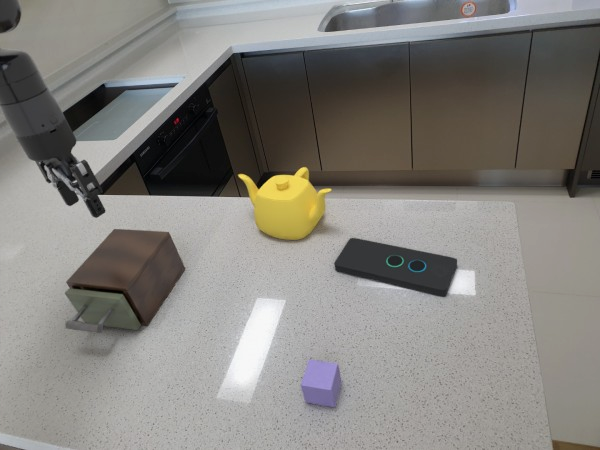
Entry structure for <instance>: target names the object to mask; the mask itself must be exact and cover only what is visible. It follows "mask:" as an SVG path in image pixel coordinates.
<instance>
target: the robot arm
mask: <svg viewBox="0 0 600 450" xmlns="http://www.w3.org/2000/svg"><path fill="white" fill-rule="evenodd" d="M22 11H23V10H22V4H21V2H20V0H0V35H3V34H7V33H10V32H12V31H14V30H15V29H16V28H17V27H18V26H19V24H20V22H21V20H22V13H23V12H22ZM0 111H1V114H2V115H3V118H4V120H5V122H6V123H7V125H8V127H9V128H10V129H11V132H12V133H13V135H14V136H15V139H16V140H17V141H18V144H19V145H20V146H21V148H22V150H23V152H24V153H25V155H26V157H27V158H28V159H29V160H30V161H34V162H35V164H36V165H37V167H38V169H39V171H40V173H41V174H42V176H43V178H44V179H45V182H46V183H47V184H51V185H52V187H53V188H54V189H56V190H57V192H58V194H59V195H60V197H61V199H62V200H63V202H64V204H65V205H66V206H68V207H72V206H73V205H75V204H77V203H78V202H79V201H80V199H79V197H80V198H81V199H82V200H83V202H84V204H85V206H86V208H87V210H88V211H89V213H90V215H91V216H92V217H93V218H94V219H97V218H99V217H101V216H102V215H104V214H105V213H106V209H105V206H104V204H103V203H102V201H101V198H100V197H99V195H101V194H102V193H103V192H104V190H103V187H102V186H101V184H100V183H99V181H98V178H97V177H96V175H95V174H94V172H93V169H92V167H91V166H90V164H89V162H88V161H87V160H86V159H81V161H79V159H78V158H77V157H76V156H75V155H74V154H73V153H72V151H73V148H74V147H75V146H76V145H77V138H76V136H75V133H74V132H73V130H72V128H71V126H70V125H69V122H68V120H67V119H66V116H65V115H64V113H63V110H62V108H61V107H60V105H59V103H58V100H57V99H56V98H55V96H54V94H52V92H51V91H50V88H48V85H47V84H46V82H45V79H44V78H43V76H42V74H41V71H40V70H39V68H38V66H37V64H36V62H35V60H34V59H33V57H32V56H31V55H30V54H29V52H27V51H26V50H22V49H14V48H13V49H12V48H5V47H2V46H0ZM75 181H76V182H75Z"/></svg>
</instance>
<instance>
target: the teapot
mask: <svg viewBox="0 0 600 450" xmlns="http://www.w3.org/2000/svg"><path fill="white" fill-rule="evenodd" d="M237 176H238V178H239V179H240V180H241V181H243V183H244V184H245V186H246V188H247V192H248V196H249V200H250V202H251V204H252V206H253V216H254V222H255V225H256V227H257V228H258V229H259V230H260V231H261V232H262V233H264V234H266V235H267V236H270V237H273V238H276V239H280V240H288V241H296V240H297V241H298V240H302V239H305V238H306V237H307V236H308V235H309V234H311V232H312V231H313V230H314V229H315V228H316V227H317V225H318V224H319V222H320V220H321V218H323V216H324V214H325V212H326V195H327V194H329V193H330V192H332V188H323V189H320V190H319V191H317V190H316V189H315V187H314V186H313V184H312V183H311V182H310V171H309V168H307V167H306V166H303V167H301V168H299V169H298V170H297V171H296V173H294V175H291V174H276V175H273V176H271V177H270V178H269V179H268V180H266V182H264V183H263V184H262V186H261V187H259V188H258V187H257V185H256V183H255V182H254V181H253V179H252V178H251V177H250V176H248V175H246V174H243V173H239V174H237Z"/></svg>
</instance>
